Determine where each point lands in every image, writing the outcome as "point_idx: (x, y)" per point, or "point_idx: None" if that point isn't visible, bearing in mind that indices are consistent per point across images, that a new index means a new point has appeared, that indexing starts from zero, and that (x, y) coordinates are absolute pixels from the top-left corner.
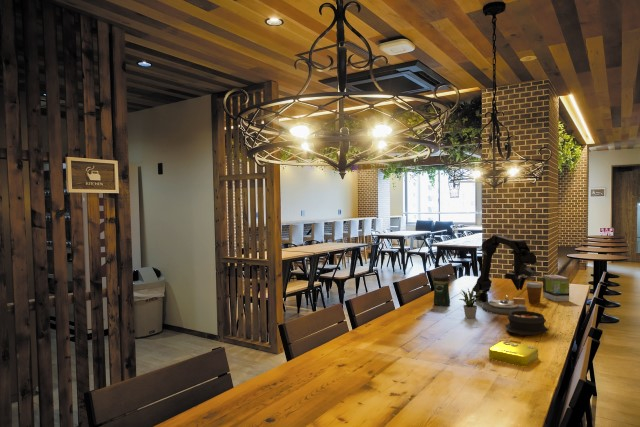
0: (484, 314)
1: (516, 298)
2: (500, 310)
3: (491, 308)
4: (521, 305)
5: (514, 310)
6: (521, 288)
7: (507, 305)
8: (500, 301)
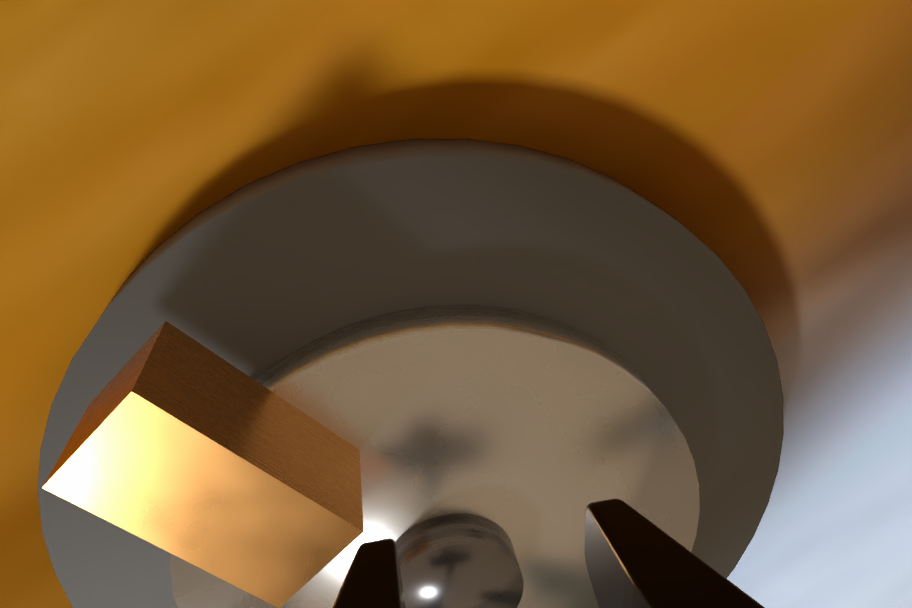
0: (905, 387)
1: (279, 520)
2: (759, 334)
3: (735, 482)
4: None
5: (570, 221)
6: (398, 590)
7: (588, 398)
8: (510, 601)
